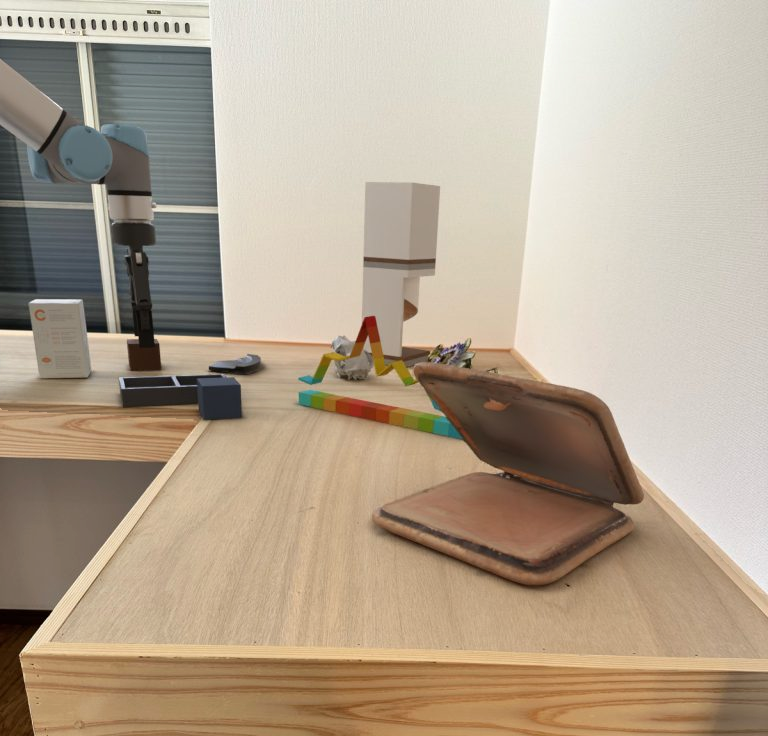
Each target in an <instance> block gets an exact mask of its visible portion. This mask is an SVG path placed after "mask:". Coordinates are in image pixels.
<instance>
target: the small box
mask: <svg viewBox="0 0 768 736" xmlns="http://www.w3.org/2000/svg"><path fill="white" fill-rule="evenodd" d="M27 304H28V310H29V315H30V316H29V317H30V323H31V329H32V335H33V343H34V349H35V357H36V362H37V363H36V364H37V370H38V376H39V379H70V378H71V379H75V378H76V379H77V378H79V379H80V378H81V379H82V378H85V379H86V378H89V375H90V374H91V373H92V364H91V363H92V362H91V355H90V345H89V338H88V330H87V323H86V315H85V307H84V306H85V305H84V301H83V299H74V298H73V299H68V298H67V299H62V298H61V299H58V298H56V299H55V298H54V299H53V298H52V299H51V298H50V299H49V298H48V299H47V298H45V299H43V298H40V299H39V298H36V299H33V300H31V301H29V302H28V303H27Z"/></svg>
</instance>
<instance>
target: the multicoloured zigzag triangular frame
mask: <svg viewBox="0 0 768 736" xmlns="http://www.w3.org/2000/svg"><path fill="white" fill-rule="evenodd" d="M368 336H369V341H370V346H371V351H372V356H373V361H374V365H373V367H374V371H375V375H376V378H378V377H382V376H387V375H388V374H389V373H391V372H392V371H393V370H394V371H395V372H396V374H397V376H398V377H399V378H400V380H401V382H402V383H403V385H404V386H405V387H409V386H412V385H416V384H418V383H419V382H418V380H417V379H416V378H414V376H412V374H411V372H410V371H409V370H408V368H407V367H406V366H405V364H404V363H403V361H402V360H400V361H395V362H391V363H390V364H389V365H385V361H384V356H383V351H382V347H381V342H380V337H379V332H378V327H377V322H376V317H375V316H369V317H365V318H364V320H363V323H362V322H361V325H360V328H359V331H358V334H357V336H356V339H355V340H354V341H355V344H354V346H353V349H352V351H351V354H350V356H343V355H340V354H338V353H335V352H334V351H333V352H327V353H323V355H322V356H321V359H320V362H319V364H318V366H317V367H316V369H315V370H316V371H315V373H314V375H313V376H311V375H310V374H308V375H305V376H300V377H298V378H297V379H298V381H301V382H302V383H305V384H307V385H310V386H312V385H316V384H320V383H322V382H323V379H324V377H325V375H326V373H327V371H328V369H329V368H330V364H331V362H332V361H333V362H334V361H341V360H346V359H350V358H354V357H357V356H360V355H361V352H362V350H363V347H364V344H365V342H366V339H367V337H368ZM428 398H429V400H430V402H431V404H432V407H433V409H434V410H436V411H439V412H441V411H440V409H439V407H438V406H437V405H436V404H435V402H434V401H433V400H432V398H430V397H429V396H428ZM298 405H301V406H306V407H310V408H315V409H320V410H322V411H328V412H331V413H338V414H343V415H346V416H352V417H356V418H361V419H366V420H370V421H375V422H379V423H384V424H388V425H389V424H390V425H394V426H398V427H403V428H407V429H412V430H417V431H422V432H427V433H432V434H435V435H441V436H446V437H450V438H455V439H460V440H463V439H462V437H461V436H460V435H459V433H458V432H457V431H456V429H455V428H454V427H453V426H452V425H451V423H450V422H449V421H448V420H447V418H446V416H445V415H439V414H434V413H429V412H424V411H419V410H414V409H411V408H410V409H409V408H404V407H400V406H395V405H388V404H383V403H379V402H373V401H368V400H364V399H358V398H353V397H349V396H344V395H338V394H334V393H328V392H325V391H324V392H323V391H319V390H314V389H307V390H303V391H298Z"/></svg>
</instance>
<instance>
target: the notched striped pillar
mask: <svg viewBox="0 0 768 736" xmlns="http://www.w3.org/2000/svg"><path fill="white" fill-rule="evenodd" d="M440 194H441V186H440V185H434V184H426V183H418V182H399V181H397V182H393V181H390V182H387V181H385V182H383V181H365V185H364V220H363V221H364V226H363V260H362V298H361V299H362V301H361V303H362V304H361V305H362V306H361V324H362V323H363V320H364V318H365V317H369V316H375V317H376V322H377V327H378V332H379V337H380V342H381V347H382V351H383V356H384V361H385V366H388V365H389V364H390V363H391V362H395V361H400V360H402V361H403V363H404V364H405V366H406V368H407V367H410V366H413V365H414V366H415V365H416V364H417V363H420V362H428V358H429V357H428V355H430V354H431V350H428V349H420V348H414V347H407V346H403V332H404V322H406V321H408V320H410V319H412V318H414V317H415V316H416V315H418V312H419V300H420V299H419V298H420V279H421V278H422V277H434V276H436V264H437V263H436V262H437V259H436V258H437V249H438V248H437V246H438V232H439V231H438V229H439V228H438V227H439V211H440V197H441V195H440ZM364 350H366V351H368V353H369V354H370V355H371V356H372V351H371V346H370V341H369V336H368V337H367V339H366V342H365V344H364ZM372 357H373V356H372ZM368 363H370V360H369V361H368Z"/></svg>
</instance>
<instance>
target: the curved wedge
mask: <svg viewBox="0 0 768 736" xmlns="http://www.w3.org/2000/svg"><path fill="white" fill-rule="evenodd" d="M261 360H262V358H261V356H259V355H258V354H251V353H246V356H245V357H239V358H236V359H232V360H230V359H228V360H218V361H216V362H214V363H212V364H210V365H208V370H209V371H212V372H213V371H214V372H222V373H231V374H240V375H249V374H252V373H256V372H257V371H259V370H260V369H261V368H262V364H261V362H262V361H261Z"/></svg>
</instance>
